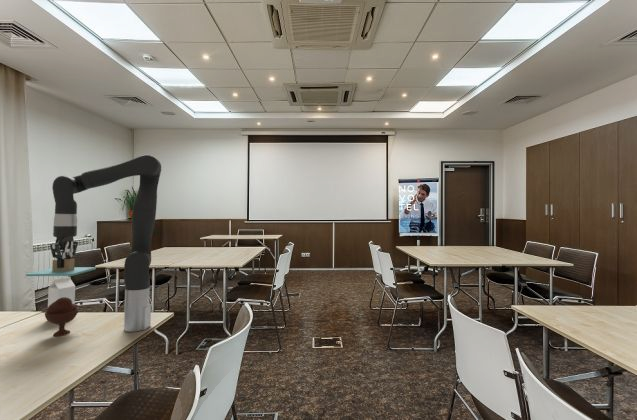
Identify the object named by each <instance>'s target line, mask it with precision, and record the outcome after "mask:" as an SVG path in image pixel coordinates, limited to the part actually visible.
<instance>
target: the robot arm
mask: <svg viewBox="0 0 637 420" xmlns="http://www.w3.org/2000/svg"><path fill="white" fill-rule="evenodd" d="M161 172H162V164H161V162H160V161H159V160H158V159H157V158H156V157H155V156H153V155H150V154H143V155H140V156H137V157H135V158H132V159H130V160H127V161H124V162H121V163H119V164H115V165H110V166H107V167H103V168H102V167H101V168H97V169H93V170H89V171H85V172H82V173H81V174H80V175H77V176H67V175H60V176H57V177H55V179H54V180H53V183H52V193H53V199H54V203H55V205H54V218H53V227H52V228H53V230H52V231H53V232H52V235H53V236H52V237H54V238H56V239H55V242H54V243H50V244H49V247H50V252H51V255H52V258H54V259H57V268H64V259H72V257H73V256H75V255H76V252H77V249H78V245H79V241H75V240H74V237H77V234H78V217H77V214H78V213H77V212H78V203H77V201H76V200H75V199H74V194H79V193H82V192H84V191H88V190H90V189H94V188H98V187H102V186H106V185H110V184H112V183H115V182H117V181H120V180H122V179H126V178H129V177H136V176H139V187H138V191H137V192H136V195H135V198H134V201H133V204H132V210H131V218H130V219H131V223H130V224H131V232H132V242H131V243H132V244H131V249H130V254H128V255H127V256H126V257H125V260H124V268H123V269H124V271H123V273H124V274H123V275H124V276H123V277H124V278H123V279H124V280H123V281H124V310H123V311H124V317H123V323H124V324H123V330H124V331H125V332H129V333H131V332H139V331H145V330H147V329H148V328H149V327H150V326H151V321H152V319H151V318H152V317H151V316H152V304H151V303H150V293H151V292H150V291H151V290H150V287H151V281H150V266H151V262H152V239H153V233H154V229H155V222H156V218H157V217H156V216H157V215H156V214H157V206H158V205H157V204H158V186H159V182H160V176H161Z"/></svg>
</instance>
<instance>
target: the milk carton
mask: <svg viewBox="0 0 637 420" xmlns="http://www.w3.org/2000/svg"><path fill="white" fill-rule="evenodd" d="M71 277H72V276H65V277H60V278H54V279H53V281H52V283H51V284H50V286H49V287H48V288H47V289H48V294H47V295H48V296H47V297H48V298H47V308H48V307H49V305H51V304H52V303H53V302H55V301H56V300H58V299H59V298H62V297H66V298H69V299H71V300H72V304H75V303H76V302H75V301H76V300H75V299H76V285H75V283H74V282H73V280H72V279H71ZM75 305H76V304H75Z"/></svg>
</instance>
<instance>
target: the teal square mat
mask: <svg viewBox="0 0 637 420" xmlns="http://www.w3.org/2000/svg"><path fill="white" fill-rule="evenodd" d="M75 262H76V261H75V258H71V259H64V268H57V259H56V258H54V259H53V260H52V268H48V269H43V270H42V269H41V270H39V271H38V270H37V271H33V272H30V273H29V272H28V273H26V274H25V277H72V276H77V275H80V274H83V273H87V272H92V271H94V270H96V269H97V267H96V266H93V267H91V266H89V267H88V266H87V267H86V266H82V267H81V266H80V267H78V266H77V267H75Z"/></svg>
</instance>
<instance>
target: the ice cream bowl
mask: <svg viewBox="0 0 637 420" xmlns="http://www.w3.org/2000/svg"><path fill="white" fill-rule="evenodd" d="M79 310H80V307H78V305H77V304H72V300H71V299H69V298H66V297H62V298H59V299H58V300H56V301H55V302H53V303H52V304H51V305H49V307H48V306H47V310H46V311H45V313H44V317H45V319H46V320H47V322H50V323H51V324H54V325H58V326H59V328H58V330H56V331H55V332H54V333H53V335H52V336H53V337H62V336H66V335H69V334H71V330H69V329H66V326H65V325H66V324H67V323H69V322H71V321H72V320H74V319H75V318H76V316H77V315H78V313H79Z"/></svg>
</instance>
